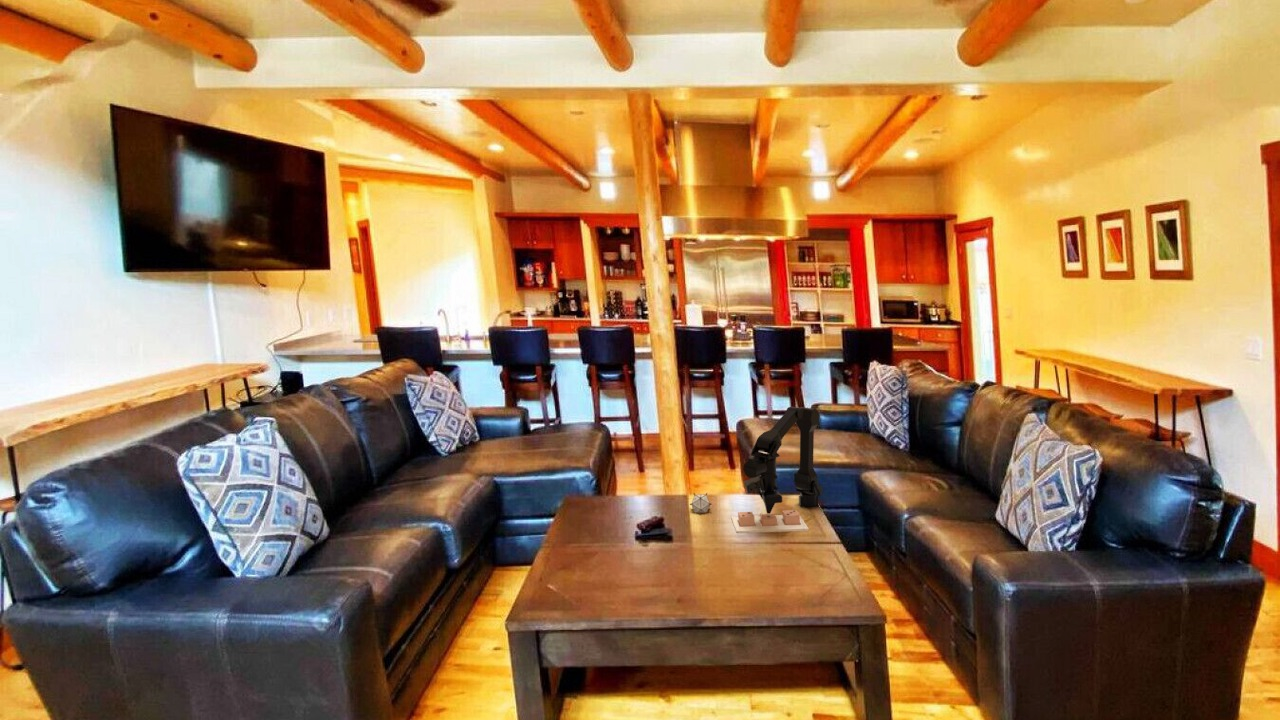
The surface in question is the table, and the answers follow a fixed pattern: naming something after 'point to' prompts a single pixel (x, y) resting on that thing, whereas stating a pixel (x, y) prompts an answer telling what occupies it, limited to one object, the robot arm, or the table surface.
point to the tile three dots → (791, 517)
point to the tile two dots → (746, 519)
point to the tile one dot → (768, 519)
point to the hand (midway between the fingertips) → (768, 513)
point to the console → (760, 528)
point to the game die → (700, 503)
